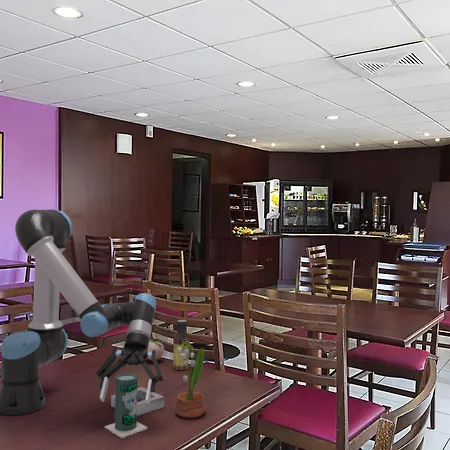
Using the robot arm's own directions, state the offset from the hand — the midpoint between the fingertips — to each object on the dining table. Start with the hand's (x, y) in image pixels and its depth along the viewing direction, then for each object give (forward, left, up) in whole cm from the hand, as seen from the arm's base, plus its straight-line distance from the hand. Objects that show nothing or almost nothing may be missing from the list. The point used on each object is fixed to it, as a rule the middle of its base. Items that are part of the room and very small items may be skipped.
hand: (124, 401), depth 150 cm
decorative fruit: (+48, +49, -9) cm, 69 cm away
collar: (+14, +13, -9) cm, 21 cm away
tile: (+2, +1, -9) cm, 9 cm away
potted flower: (+22, -4, -9) cm, 24 cm away
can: (+2, +1, -9) cm, 9 cm away
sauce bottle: (+51, +34, -9) cm, 62 cm away
